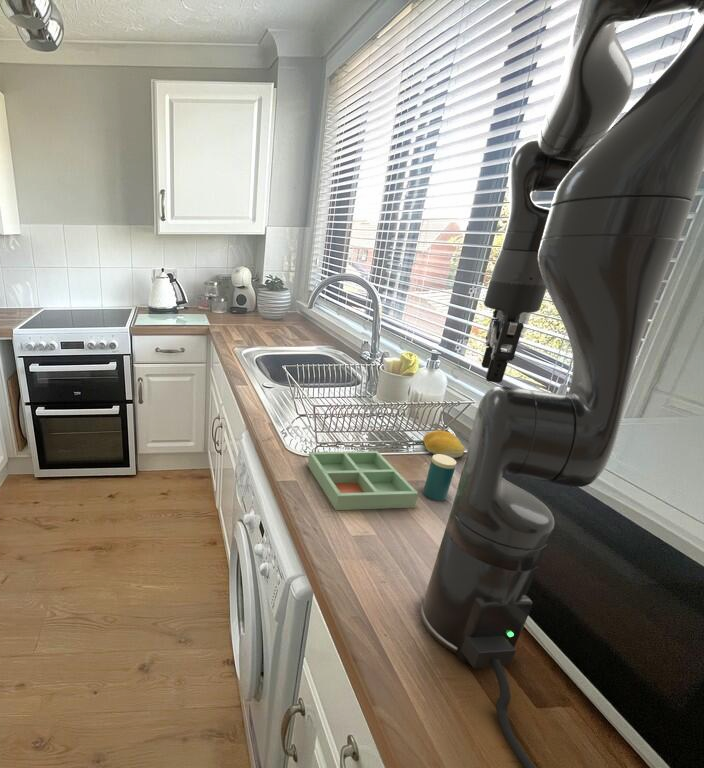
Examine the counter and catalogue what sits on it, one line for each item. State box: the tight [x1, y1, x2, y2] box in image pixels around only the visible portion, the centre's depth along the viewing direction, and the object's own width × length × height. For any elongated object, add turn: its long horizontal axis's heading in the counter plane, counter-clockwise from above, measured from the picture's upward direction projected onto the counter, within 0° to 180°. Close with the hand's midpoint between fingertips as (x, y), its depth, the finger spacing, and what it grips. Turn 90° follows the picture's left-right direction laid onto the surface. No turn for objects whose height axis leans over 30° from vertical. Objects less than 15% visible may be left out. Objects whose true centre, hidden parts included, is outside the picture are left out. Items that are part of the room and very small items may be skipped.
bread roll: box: [422, 429, 465, 459], centre depth 97 cm, size 8×9×4 cm
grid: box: [307, 450, 419, 511], centre depth 83 cm, size 15×15×3 cm
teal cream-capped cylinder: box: [422, 454, 457, 502], centre depth 80 cm, size 4×4×8 cm
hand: (490, 374), depth 72 cm, fingers open, 8 cm apart
